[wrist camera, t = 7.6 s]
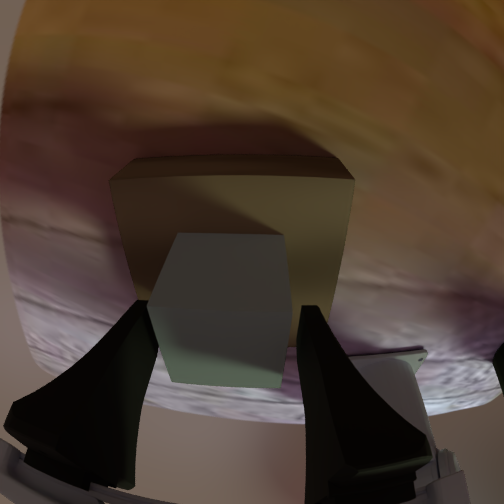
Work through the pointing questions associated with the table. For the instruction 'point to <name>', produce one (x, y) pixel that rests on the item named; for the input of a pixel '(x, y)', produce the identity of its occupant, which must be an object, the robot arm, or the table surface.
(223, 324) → the gray cube
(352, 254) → the table surface
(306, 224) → the base block
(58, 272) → the table surface
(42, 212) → the table surface
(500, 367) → the potion bottle
